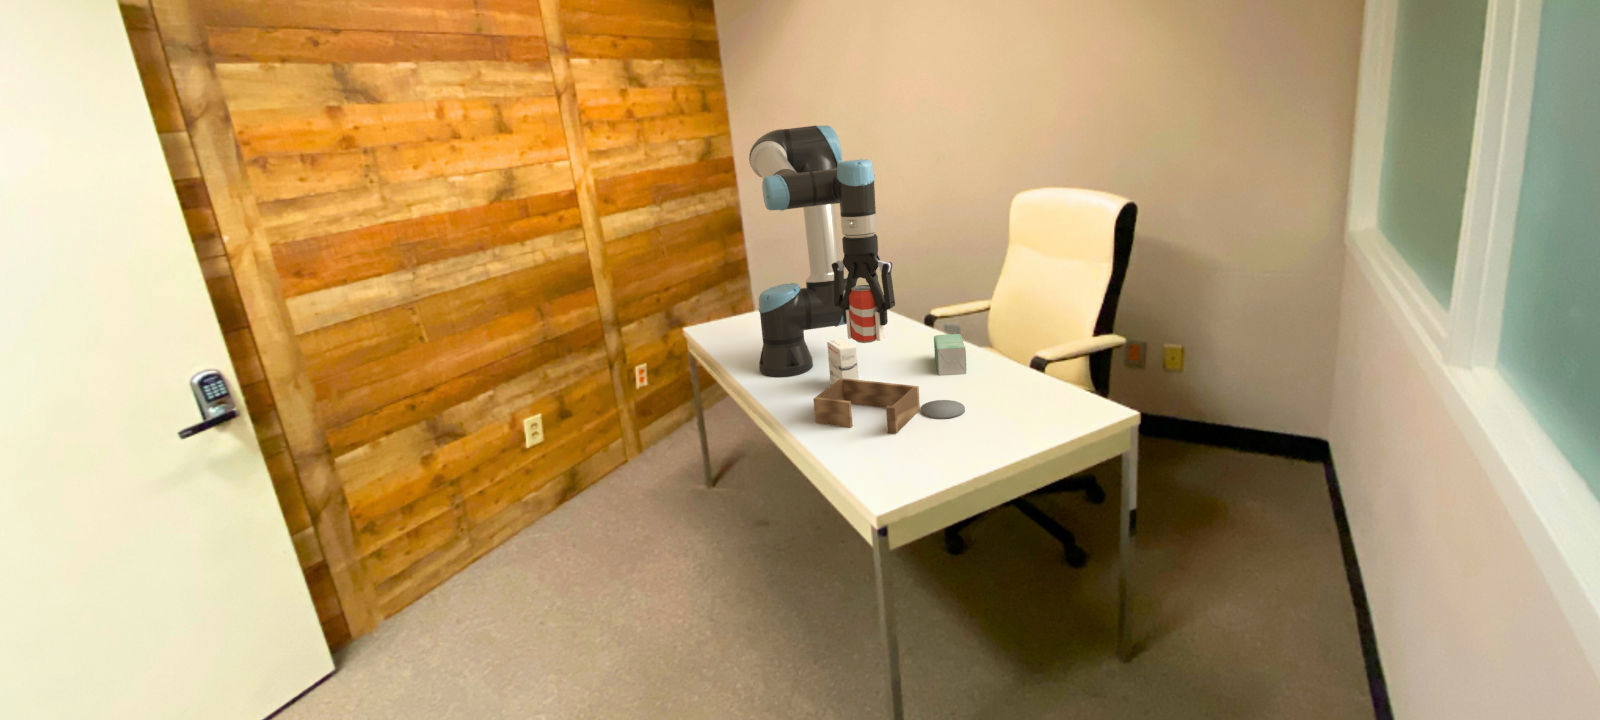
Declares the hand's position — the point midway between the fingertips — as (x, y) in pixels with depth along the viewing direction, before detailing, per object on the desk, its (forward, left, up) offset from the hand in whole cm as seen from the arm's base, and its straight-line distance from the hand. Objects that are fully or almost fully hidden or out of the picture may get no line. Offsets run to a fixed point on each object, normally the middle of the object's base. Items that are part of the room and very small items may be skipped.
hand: (866, 337), depth 166 cm
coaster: (+14, +8, -19) cm, 25 cm away
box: (+6, +38, -19) cm, 43 cm away
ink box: (-15, +16, -19) cm, 29 cm away
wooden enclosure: (-1, 0, -19) cm, 19 cm away
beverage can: (0, 0, -1) cm, 1 cm away
